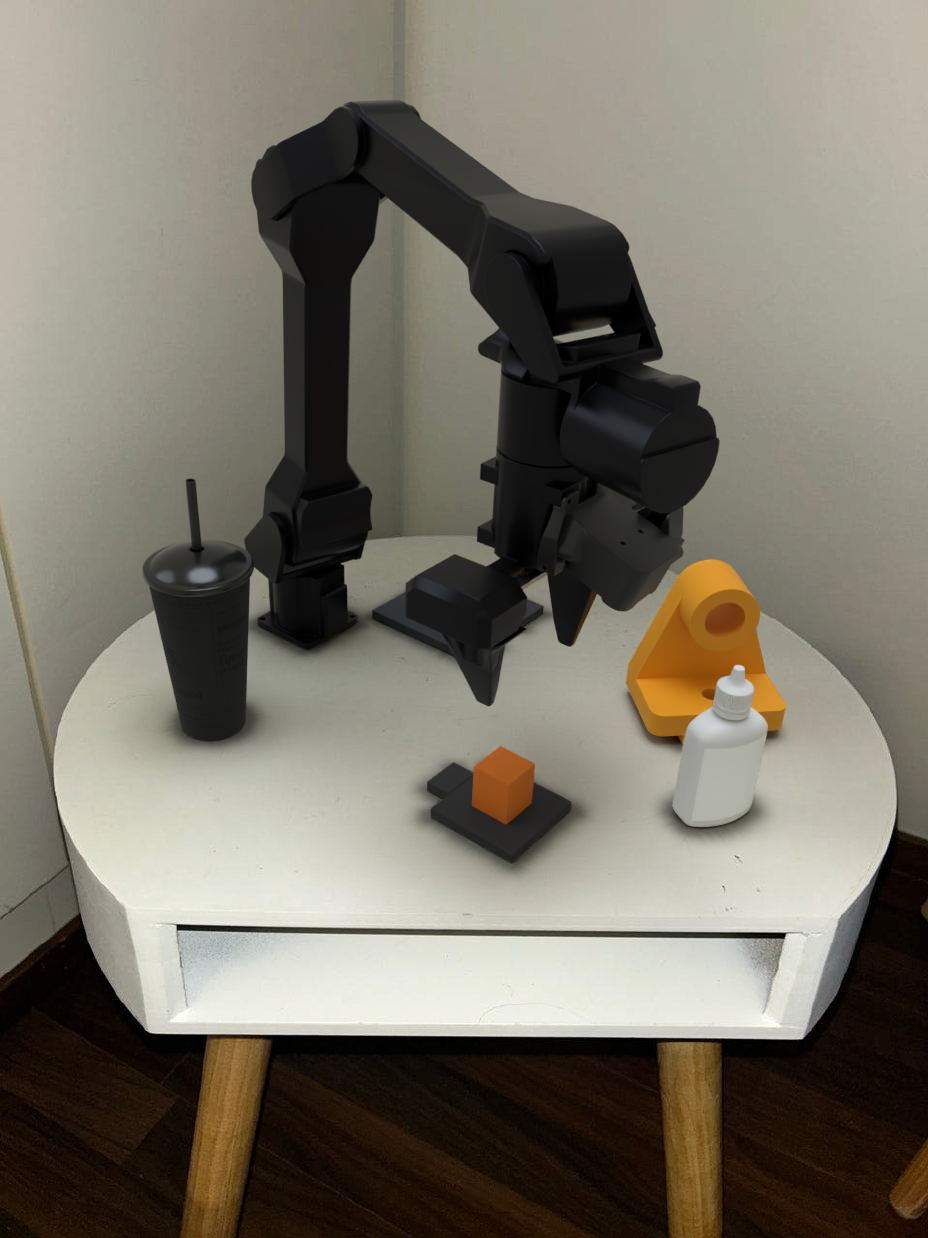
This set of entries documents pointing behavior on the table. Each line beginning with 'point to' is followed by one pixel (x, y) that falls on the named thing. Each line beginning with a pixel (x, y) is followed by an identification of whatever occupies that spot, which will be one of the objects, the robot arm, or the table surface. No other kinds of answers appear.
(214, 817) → the table surface
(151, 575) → the drinking cup
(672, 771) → the table surface
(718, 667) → the bracket
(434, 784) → the black pad
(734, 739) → the eye dropper bottle
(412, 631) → the charcoal pad
